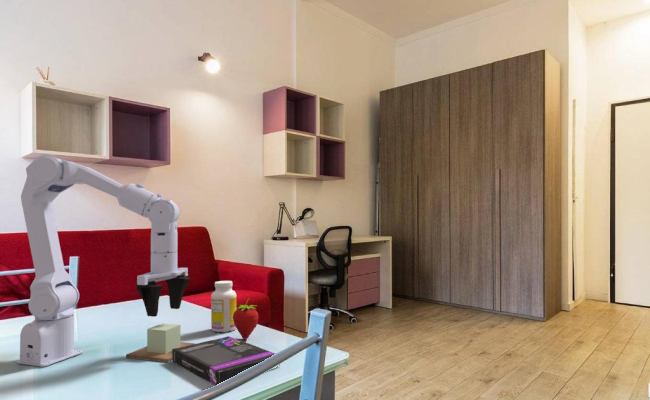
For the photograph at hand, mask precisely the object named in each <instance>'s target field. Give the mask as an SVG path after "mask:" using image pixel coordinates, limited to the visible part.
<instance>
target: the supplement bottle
mask: <svg viewBox="0 0 650 400" xmlns="http://www.w3.org/2000/svg"><path fill="white" fill-rule="evenodd" d="M233 285H234V284H233V281H232V280H219V281H215V282H214V287H215V290H214V291H213V292H212V293H211V295H210V305H211V306H210V310H211V311H210V312H211V313H210V314H211V319H210V320H211V321H210V322H211V323H210V324H211V330H212V331H213V332H215V333H220V332H221V333H228V332H229V331H230V332H232V331H235V330H237V328H236V326H235V324H234V321H233V314H234V312H235V311H236V310H237V308H236V307H237V293H236V291H235V290H233Z"/></svg>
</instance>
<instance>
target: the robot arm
mask: <svg viewBox="0 0 650 400" xmlns="http://www.w3.org/2000/svg"><path fill="white" fill-rule="evenodd" d="M25 171H26V179H25V182H24V185H23V188H22V191H21V194H20V202H21V206H22V210H23V217H24V221H25V227H26V232H27V237H28V242H29V248H30V253H31V257H32V258H31V259H32V262H33V263H32V264H33V269H34V273H35V277H34V278H33V279H34V280H33V281H32V283H31V285H30V286H29V290H30V298H29V300H28V309H29V312H30V314H31V315H33V316H34V320H33V321H31V322H27V323H26V324H25V325H24V326H23V327H22V329H21V331H20V335H19V336H20V337H19V338H20V339H19V360H16V363H17V364H21V365H28V366H34V367H43V368H44V367H48V366H50V365H53V364H56V363H58V362H59V363H60V362H62V361H64V360H67V359H69V358H70V359H71V358H73V357H76V356H77V355H80V354H83V353H84V351H83V350H81V349H74V346H75V345H74V343H75V342H74V341H75V339H74V338H75V336H74V335H75V327H74V326H75V324H74V323H75V311H74V307H76V306H77V304H78V302H79V299H80V292H79V290H78V288H77V287H76V286H75V284H74V283H73V277H72V276H71V275H70V274H69V273H68V272H67V271H66V269H65V265H64V260H63V259H64V258H63V253H62V250H61V246H60V239H59V233H58V229H57V223H56V220H55V213H54V210H53V209H54V208H53V205H52V203H53V201H54V200H55V199H56V198H57V197H58V196H59V195H60V194H61V193H63V192H65V191H66V190H68V189H70V188H71V187H73V186H75V185H76V184H77V185H87V186H89V187H91V188H94V189H96V190H99V191H101V192H103V193H106V194H108V195H109V196H112V197H115V198H116V200H117V202H118V204H119V206H120V207H122V208H124V209H127V210H129V211H130V212H132V213H135V214H137V215H139V216H141V217H144V218H147V219H148V220H149V222H150V223H151V225H150V226H151V228H150V229H151V232H150V272H146V273H144V274H140V275H137V277H136V279H137V280H136V284H135V289H136V290H137V291H138V293H139V295H140V297H141V299H142V301H143V305H144V308H145V311H146V316H147V317H157V316H158V314H159V313H158V312H159V303H160V302H159V301H160V296H161V293H162V289H163V287H164V285H162V284H157V282H162V281H165V282H166V287H167V290H168V296H169V297H168V298H169V299H168V300H169V307H170V309H173V310H179V309H180V308H181V304H182V300H183V296H184V294H185V291H186V288H187V286H188V285H189V283H190V281H191V280H190V277H188V276H189V273H188V272H189V270H188V269H189V268H188V267H178V243H179V242H178V237H179V236H178V220H179V217H180V216H181V210H180V207H179V206H178V204H177V203H176V202H174V201H173V200H171V199H163V198H164V195H163V194H162V193H161V194H160V193H157V194H156V193H154V192H152V191H149V190H147V189H145V185H143V184H141V183H139V182H138V183H137V184H135V183H129V184H121V182H118V181H116V180H114V179H112V178H110V177H108V176H106V175H105V174H103V173H100V172H99V171H96V170H95V169H93V168H91V167H89V166H85V165H83V164H79V163H75V162H74V161H72V160H64V159H62V158H57V157H55V156H53V155H49V154H44V155H40V156H38V157H36V158H35V159H34V160H32V162H31V163H30V164H29V165H27V166H26V167H25Z"/></svg>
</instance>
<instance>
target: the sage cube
mask: <svg viewBox="0 0 650 400" xmlns="http://www.w3.org/2000/svg"><path fill="white" fill-rule="evenodd" d="M146 333H147V335H146V336H147V337H146V338H147V339H146V346H147V352H155V353H164V354H166V353H168V352H170V351H172V349H174V348H179V347H180V342H181V324H173V323H160V324H157V325H154V326H151V327H148V328H147V330H146Z"/></svg>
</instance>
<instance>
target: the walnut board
mask: <svg viewBox="0 0 650 400" xmlns="http://www.w3.org/2000/svg"><path fill="white" fill-rule="evenodd" d="M193 344H195V343H192V342H183V341H180V347H185V346H189V345H193ZM180 347H179V348H180ZM126 358H127V359H128V358H129V359H138V360H144V361H145V360H146V361H153V362H162V363H169V362H172V351H170V352H168V353H166V354H164V353H155V352H147V345H146V346H144V347H142V348H141V347H140V349H139V348H138V349H136V350H134V351H132V352H129V353H126Z"/></svg>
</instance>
